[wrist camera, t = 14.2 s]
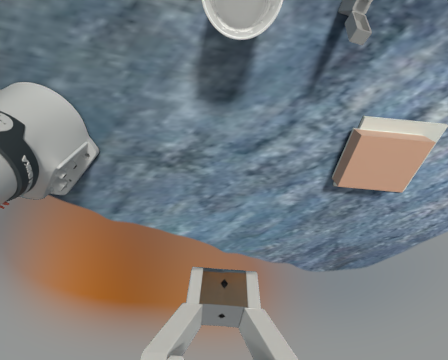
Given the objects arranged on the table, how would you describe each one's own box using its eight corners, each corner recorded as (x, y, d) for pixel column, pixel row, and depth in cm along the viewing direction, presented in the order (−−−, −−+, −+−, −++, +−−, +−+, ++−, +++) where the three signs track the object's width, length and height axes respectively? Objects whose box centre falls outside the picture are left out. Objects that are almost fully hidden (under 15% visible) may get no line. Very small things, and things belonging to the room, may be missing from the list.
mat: (332, 184, 45) (333, 186, 45) (363, 115, 37) (365, 117, 37) (400, 190, 45) (402, 192, 45) (445, 124, 38) (448, 125, 37)
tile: (337, 186, 41) (402, 192, 41) (361, 135, 35) (435, 142, 36) (331, 177, 43) (392, 182, 44) (353, 128, 38) (422, 134, 38)
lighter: (354, -29, 27) (393, -47, 21) (367, -25, 28) (410, -41, 21) (326, 38, 31) (351, 41, 25) (337, 41, 31) (365, 45, 25)
